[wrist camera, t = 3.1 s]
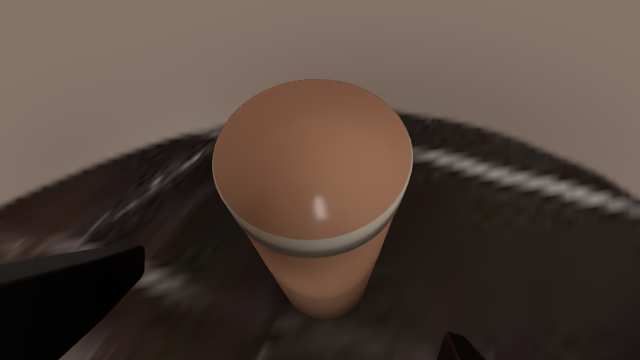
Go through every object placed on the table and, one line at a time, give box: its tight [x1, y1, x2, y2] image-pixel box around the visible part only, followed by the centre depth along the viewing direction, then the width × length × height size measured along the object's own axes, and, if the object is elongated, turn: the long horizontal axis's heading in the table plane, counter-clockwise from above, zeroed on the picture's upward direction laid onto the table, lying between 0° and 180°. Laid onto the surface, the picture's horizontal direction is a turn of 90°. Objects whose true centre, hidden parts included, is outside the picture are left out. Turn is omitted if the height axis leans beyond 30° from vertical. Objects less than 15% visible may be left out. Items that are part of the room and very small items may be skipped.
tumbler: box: [212, 79, 413, 319], centre depth 14 cm, size 6×6×13 cm
